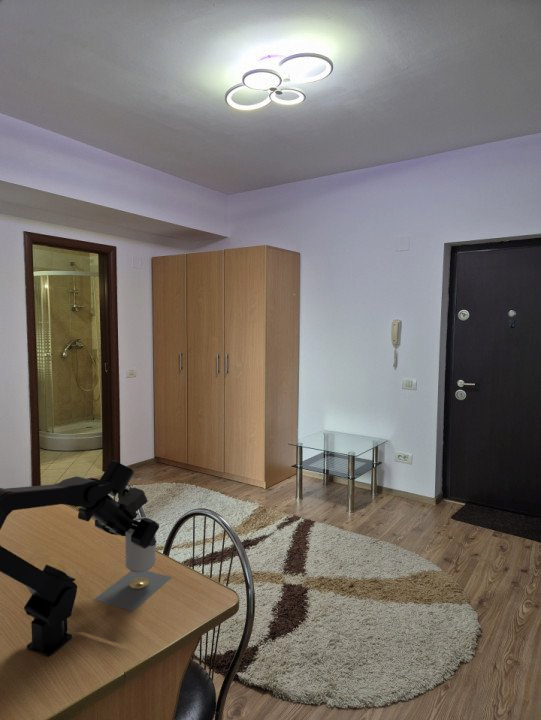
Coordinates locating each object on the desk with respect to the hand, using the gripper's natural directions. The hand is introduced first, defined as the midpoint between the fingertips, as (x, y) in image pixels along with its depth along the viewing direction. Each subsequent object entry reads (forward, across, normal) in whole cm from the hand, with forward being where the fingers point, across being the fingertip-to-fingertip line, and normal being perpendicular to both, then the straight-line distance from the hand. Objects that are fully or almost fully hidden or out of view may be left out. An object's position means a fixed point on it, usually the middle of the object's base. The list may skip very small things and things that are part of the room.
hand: (144, 539), depth 122 cm
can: (+4, 0, +6) cm, 7 cm away
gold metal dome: (+7, +1, +9) cm, 12 cm away
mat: (+6, 0, +11) cm, 13 cm away
